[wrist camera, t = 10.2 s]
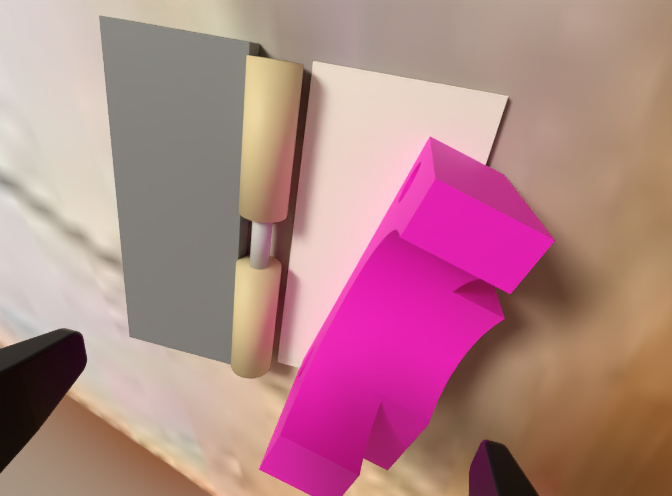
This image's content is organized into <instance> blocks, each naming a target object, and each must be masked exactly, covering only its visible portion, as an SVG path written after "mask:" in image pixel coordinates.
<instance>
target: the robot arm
mask: <svg viewBox="0 0 672 496" xmlns="http://www.w3.org/2000/svg"><path fill="white" fill-rule="evenodd" d="M86 363H87V355H86V350H85V344H84V339H83V336H82V334H81V333H80V332H78V331H74V330H70V329H66V328H62V329H58V330H55V331H52V332H49V333H46V334H43V335H40V336H37V337H34V338H31V339H28V340H25V341H22V342H19V343H16V344H13V345H10V346H7V347H5V348H2V349H0V473H1V472H2V471H3V470H4V469H5V467H6V466H7V465H8V464H9V463H10V462H11V461H12V460H13V459H14V457H15V456H16V455H17V454H18V453H19V452H20V451H21V450H22V449H23V447H24V446H25V445H26V444H27V443H28V442H29V441H30V439H31V438H32V437H33V436H34V435H35V434H36V432H37V431H38V430H39V429H40V427H41V426H42V425H43V423H44V422H45V421H46V420H47V419H48V417H49V416H50V414H51V413H52V412H53V410H54V409H55V408H56V406H57V405H58V404H59V402H60V401H61V400H62V398H63V397H64V396H65V394H66V393H67V392H68V390H69V389H70V388H71V386H72V385H73V384H74V382H75V381H76V380H77V378H78V377H79V376H80V374H81V373H82V372H83V370H84V368H85V366H86ZM469 496H539V495H538V493H537V492H536V490H535V489H534V487H533V486H532V484H531V483H530V481H529V480H528V478H527V477H526V475H525V474H524V472H523V471H522V469H521V468H520V466H519V465H518V463H517V462H516V460H515V459H514V457H513V456H512V454H511V453H510V451H509V450H508V448H507V447H506V446H505V445H503V444H501V443H498V442H494V441H490V440H483V441H482V442H481V444H480V446H479V448H478V450H477V452H476V455H475V457H474V459H473V461H472V464H471V467H470V471H469Z"/></svg>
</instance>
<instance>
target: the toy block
mask: <svg viewBox="0 0 672 496" xmlns="http://www.w3.org/2000/svg"><path fill="white" fill-rule="evenodd" d="M554 241H555V240H554V239H553V237H552V236H551V235H550V233H549V232H548V231H547V230H546V228H545V227H544V226H543V224H542V223H541V222H540V221H539V219H538V218H537V217H536V215H535V214H534V213H533V211H532V210H531V209H530V208H529V206H528V205H527V204H526V202H525V201H524V200H523V199H522V197H521V196H520V195H519V193H518V192H517V191H516V190H515V188H514V187H513V186H512V184H511V183H510V182H509V180H508V179H507V178H506V177H505V175H504V174H502V173H500V172H498V171H496V170H494V169H492V168H490V167H488V166H486V165H484V164H482V163H480V162H478V161H477V160H475V159H473V158H471V157H469V156H467V155H465V154H463V153H461V152H459V151H457V150H455V149H453V148H452V147H450V146H448V145H446V144H444V143H442V142H440V141H438V140H436V139H434V138H432V137H429V139H428V140H427V142H426V144H425V146H424V147H423V149H422V151H421V153H420V155H419V156H418V158H417V160H416V162H415V163H414V165H413V167H412V169H411V170H410V172H409V174H408V176H407V177H406V179H405V181H404V183H403V184H402V186H401V188H400V190H399V192H398V193H397V195H396V197H395V199H394V200H393V202H392V204H391V206H390V207H389V209H388V211H387V213H386V214H385V216H384V218H383V220H382V221H381V223H380V225H379V227H378V229H377V230H376V232H375V234H374V236H373V237H372V239H371V241H370V243H369V244H368V246H367V248H366V250H365V251H364V253H363V255H362V257H361V258H360V260H359V262H358V264H357V266H356V267H355V269H354V271H353V273H352V274H351V276H350V278H349V280H348V281H347V283H346V285H345V287H344V288H343V290H342V292H341V294H340V295H339V297H338V299H337V301H336V303H335V304H334V306H333V308H332V310H331V311H330V313H329V315H328V317H327V318H326V320H325V322H324V324H323V325H322V327H321V329H320V331H319V332H318V334H317V336H316V338H315V340H314V341H313V343H312V345H311V347H310V348H309V350H308V352H307V354H306V355H305V357H304V359H303V361H302V364H301V366H300V369H299V371H298V374H297V376H296V379H295V381H294V384H293V386H292V389H291V391H290V394H289V396H288V399H287V401H286V404H285V406H284V409H283V411H282V413H281V416H280V418H279V421H278V423H277V426H276V428H275V431H274V433H273V436H272V438H271V441H270V443H269V446H268V448H267V451H266V453H265V456H264V458H263V461H262V463H261V466H260V468H259V470H261V471H263V472H265V473H267V474H269V475H271V476H273V477H275V478H277V479H279V480H281V481H283V482H285V483H287V484H289V485H291V486H293V487H295V488H297V489H299V490H301V491H303V492H305V493H307V494H309V495H311V496H343V494H344V493H345V492H346V491H347V490H348V488H349V487H350V486H351V485H352V484H353V482H354V481H355V480H356V479H357V478H358V476H359V475H360V471H361V466H362V461H363V458H364V459H366V460H368V461H370V462H372V463H374V464H376V465H378V466H380V467H382V468H384V469H386V470H388V469H389V468H390V467H391V466H392V465H393V464H394V463H395V462H396V460H397V459H398V458H399V457H400V456H401V455H402V454H403V453H404V451H405V450H406V449H407V448H408V447H409V446H410V445H411V443H412V442H413V441H414V440H415V439H416V438H417V437H418V436H419V434H420V433H421V432H422V431H423V430H424V429H425V428H426V427H427V425H428V424H429V421H430V419H431V416H432V413H433V411H434V409H435V406H436V404H437V401H438V399H439V397H440V395H441V393H442V391H443V389H444V387H445V385H446V383H447V382H448V380H449V378H450V376H451V375H452V373H453V371H454V370H455V368H456V367H457V365H458V364H459V362H460V361H461V360H462V358H463V357H464V356H465V354H466V353H467V352H468V351H469V349H470V348H471V347H472V346H473V345H474V344H475V343H476V342H477V341H478V340H479V338H480V337H482V336H483V335H484V334H485V333H486V332H487V331H488V330H490V329H491V328H492V327H493V326H495V325H496V324H498V323H499V322H501V321H502V320H504V319H505V317H504V314H503V311H502V308H501V305H500V302H499V299H498V296H497V293H496V290H495V287H497V288H499V289H501V290H503V291H505V292H507V293H509V294H511V293H512V292H513V290H514V289H515V288H516V287H517V286H518V284H519V283H520V282H521V281H522V280H523V278H524V277H525V276H526V275H527V274H528V272H529V271H530V270H531V269H532V268H533V266H534V265H535V264H536V263H537V262H538V260H539V259H540V258H541V257H542V256H543V254H544V253H545V252H546V251H547V250H548V248H549V247H550V246H551V245H552V244H553V242H554ZM494 286H495V287H494Z"/></svg>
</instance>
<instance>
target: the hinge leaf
mask: <svg viewBox="0 0 672 496" xmlns="http://www.w3.org/2000/svg"><path fill="white" fill-rule="evenodd" d="M99 19H100V29H101V40H102V50H103V61H104V71H105V82H106V93H107V103H108V114H109V124H110V135H111V145H112V156H113V166H114V177H115V187H116V198H117V208H118V219H119V229H120V240H121V250H122V261H123V271H124V282H125V292H126V303H127V313H128V324H129V334H130V337H132V338H136V339H139V340H143V341H147V342H150V343H154V344H158V345H161V346H165V347H169V348H172V349H176V350H180V351H183V352H187V353H191V354H194V355H198V356H202V357H205V358H209V359H213V360H216V361H220V362H224V363H227V364H231V368H232V370H233V372H234V373H235V374H237V375H238V376H240V377H243V378H257V377H260V376H263V375H264V374H266V373H267V372H268V371H269V369H270V367H271V359H272V350H273V341H274V332H275V322H276V313H277V304H278V295H279V286H280V277H281V268H282V266H281V263H280V262H279V261H278V260H277V259H275V258H273V257H271V256H269V255H270V244H271V234H272V223H275V222H280V221H283V220H285V219H286V218H287V213H288V204H289V195H290V186H291V177H292V168H293V159H294V150H295V141H296V132H297V123H298V114H299V105H300V95H301V86H302V77H303V68H304V65H303V64H299V63H294V62H289V61H283V60H278V59H272V58H265V57H259V51H260V44H258V43H252V42H247V41H241V40H235V39H230V38H224V37H219V36H213V35H207V34H202V33H196V32H190V31H185V30H179V29H174V28H168V27H162V26H157V25H151V24H145V23H140V22H134V21H128V20H123V19H117V18H111V17H105V16H99ZM249 220H251V221H252V235H251V250H250V255H247V239H248V224H249Z"/></svg>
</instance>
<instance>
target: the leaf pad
mask: <svg viewBox="0 0 672 496" xmlns="http://www.w3.org/2000/svg"><path fill="white" fill-rule="evenodd" d="M507 99H508V96H506V95H500V94H495V93H489V92H483V91H478V90H472V89H467V88H461V87H456V86H450V85H445V84H439V83H433V82H428V81H422V80H417V79H411V78H406V77H400V76H394V75H389V74H383V73H378V72H372V71H367V70H361V69H356V68H350V67H344V66H339V65H333V64H328V63H322V62H317V61H313V68H312V76H311V84H310V93H309V101H308V110H307V118H306V126H305V135H304V143H303V151H302V160H301V168H300V177H299V185H298V193H297V202H296V210H295V218H294V227H293V235H292V244H291V252H290V260H289V269H288V277H287V286H286V294H285V302H284V311H283V319H282V327H281V336H280V344H279V353H278V361H277V362H278V363H282V364H286V365H290V366H293V367H297V368H300V366H301V364H302V361H303V359H304V357H305V355H306V354H307V352H308V350H309V348H310V347H311V345H312V343H313V341H314V340H315V338H316V336H317V334H318V332H319V331H320V329H321V327H322V325H323V324H324V322H325V320H326V318H327V317H328V315H329V313H330V311H331V310H332V308H333V306H334V304H335V303H336V301H337V299H338V297H339V295H340V294H341V292H342V290H343V288H344V287H345V285H346V283H347V281H348V280H349V278H350V276H351V274H352V273H353V271H354V269H355V267H356V266H357V264H358V262H359V260H360V258H361V257H362V255H363V253H364V251H365V250H366V248H367V246H368V244H369V243H370V241H371V239H372V237H373V236H374V234H375V232H376V230H377V229H378V227H379V225H380V223H381V221H382V220H383V218H384V216H385V214H386V213H387V211H388V209H389V207H390V206H391V204H392V202H393V200H394V199H395V197H396V195H397V193H398V192H399V190H400V188H401V186H402V184H403V183H404V181H405V179H406V177H407V176H408V174H409V172H410V170H411V169H412V167H413V165H414V163H415V162H416V160H417V158H418V156H419V155H420V153H421V151H422V149H423V147H424V146H425V144H426V142H427V140H428V139H429V137H432V138H434V139H436V140H438V141H440V142H442V143H444V144H446V145H448V146H450V147H452V148H453V149H455V150H457V151H459V152H461V153H463V154H465V155H467V156H469V157H471V158H473V159H475V160H477V161H478V162H480V163H482V164H484V165H486V162H487V159H488V156H489V153H490V150H491V147H492V144H493V141H494V138H495V135H496V132H497V129H498V126H499V123H500V120H501V117H502V114H503V111H504V108H505V105H506V102H507Z"/></svg>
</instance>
